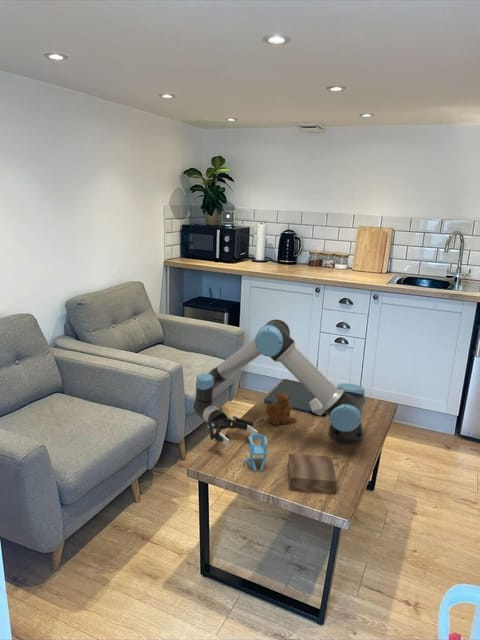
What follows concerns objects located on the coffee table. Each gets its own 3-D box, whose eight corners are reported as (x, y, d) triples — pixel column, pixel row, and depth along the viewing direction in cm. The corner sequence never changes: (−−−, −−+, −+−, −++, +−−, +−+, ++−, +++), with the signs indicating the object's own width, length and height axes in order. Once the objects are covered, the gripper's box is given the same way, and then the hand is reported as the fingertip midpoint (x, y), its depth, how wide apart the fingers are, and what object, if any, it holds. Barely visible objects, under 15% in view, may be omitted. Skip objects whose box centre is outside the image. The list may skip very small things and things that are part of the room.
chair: (248, 472, 172) (250, 443, 169) (244, 460, 180) (246, 432, 177) (268, 471, 174) (270, 442, 171) (264, 459, 182) (265, 431, 179)
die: (311, 409, 230) (304, 397, 224) (327, 402, 228) (321, 390, 223) (316, 421, 223) (309, 410, 217) (332, 414, 222) (326, 402, 216)
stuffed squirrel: (297, 421, 214) (300, 395, 211) (276, 430, 205) (278, 402, 202) (281, 413, 221) (283, 388, 218) (260, 422, 212) (262, 395, 209)
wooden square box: (330, 468, 177) (331, 456, 176) (335, 493, 162) (337, 481, 161) (287, 465, 178) (288, 453, 177) (289, 490, 163) (290, 477, 162)
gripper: (238, 419, 208) (267, 440, 191) (189, 432, 194) (215, 455, 177) (239, 403, 206) (268, 423, 189) (189, 415, 192) (216, 438, 175)
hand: (243, 439), depth 183 cm, fingers open, 13 cm apart
